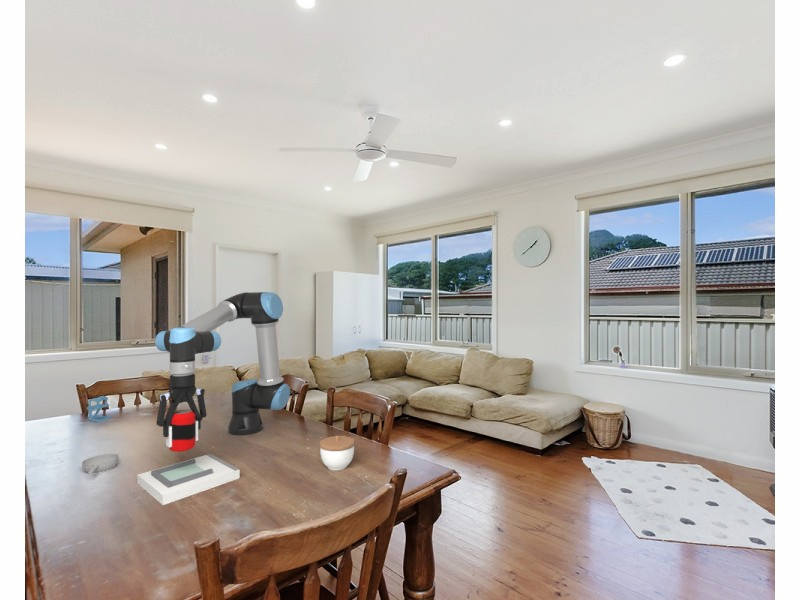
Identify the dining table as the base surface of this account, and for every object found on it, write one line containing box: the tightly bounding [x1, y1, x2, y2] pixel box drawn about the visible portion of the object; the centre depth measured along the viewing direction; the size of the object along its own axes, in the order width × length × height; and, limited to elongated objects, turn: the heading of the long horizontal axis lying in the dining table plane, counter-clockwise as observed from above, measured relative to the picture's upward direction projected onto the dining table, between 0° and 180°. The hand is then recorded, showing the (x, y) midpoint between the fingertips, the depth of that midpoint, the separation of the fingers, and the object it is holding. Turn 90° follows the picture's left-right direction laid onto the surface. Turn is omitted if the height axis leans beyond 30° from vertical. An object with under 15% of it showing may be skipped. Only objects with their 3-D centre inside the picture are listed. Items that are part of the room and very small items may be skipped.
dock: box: [137, 453, 241, 506], centre depth 137 cm, size 24×22×4 cm
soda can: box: [168, 409, 196, 453], centre depth 136 cm, size 8×8×12 cm
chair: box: [86, 395, 112, 423], centre depth 209 cm, size 8×8×12 cm
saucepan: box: [81, 453, 120, 474], centre depth 144 cm, size 11×18×4 cm, turn 23°
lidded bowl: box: [319, 435, 355, 471], centre depth 149 cm, size 13×13×11 cm
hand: (182, 442), depth 136 cm, fingers closed on soda can, 7 cm apart
